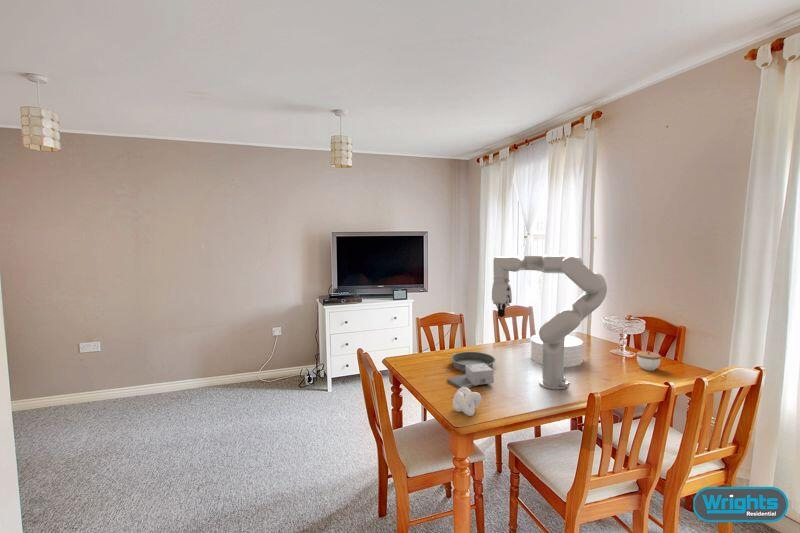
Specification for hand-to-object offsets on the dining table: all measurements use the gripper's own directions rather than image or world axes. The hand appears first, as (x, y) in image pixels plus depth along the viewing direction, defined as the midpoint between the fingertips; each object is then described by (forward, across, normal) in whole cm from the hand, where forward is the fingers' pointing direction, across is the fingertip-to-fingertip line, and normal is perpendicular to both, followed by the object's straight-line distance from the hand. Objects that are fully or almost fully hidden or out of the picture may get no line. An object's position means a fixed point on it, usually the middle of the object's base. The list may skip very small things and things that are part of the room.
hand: (501, 316), depth 193 cm
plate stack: (+32, +3, -46) cm, 55 cm away
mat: (+31, +3, +21) cm, 38 cm away
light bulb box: (+26, -6, +18) cm, 32 cm away
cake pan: (+32, +20, +2) cm, 37 cm away
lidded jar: (+31, -34, -72) cm, 86 cm away
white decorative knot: (+31, -22, +40) cm, 55 cm away
